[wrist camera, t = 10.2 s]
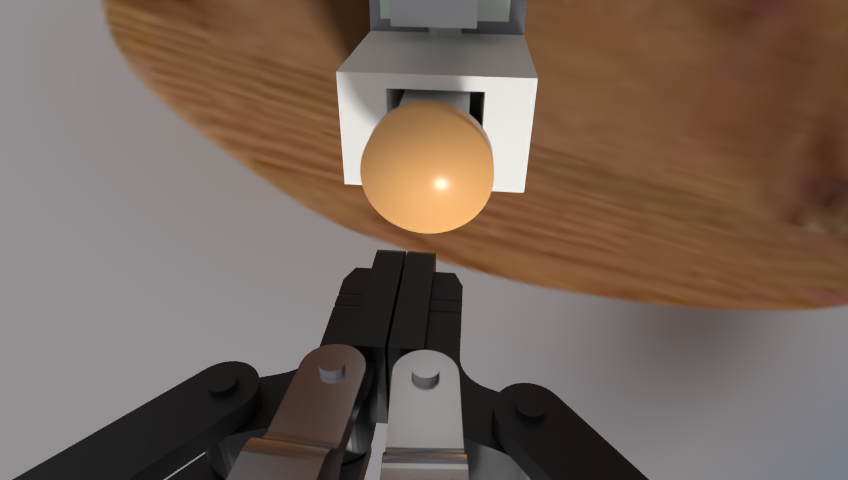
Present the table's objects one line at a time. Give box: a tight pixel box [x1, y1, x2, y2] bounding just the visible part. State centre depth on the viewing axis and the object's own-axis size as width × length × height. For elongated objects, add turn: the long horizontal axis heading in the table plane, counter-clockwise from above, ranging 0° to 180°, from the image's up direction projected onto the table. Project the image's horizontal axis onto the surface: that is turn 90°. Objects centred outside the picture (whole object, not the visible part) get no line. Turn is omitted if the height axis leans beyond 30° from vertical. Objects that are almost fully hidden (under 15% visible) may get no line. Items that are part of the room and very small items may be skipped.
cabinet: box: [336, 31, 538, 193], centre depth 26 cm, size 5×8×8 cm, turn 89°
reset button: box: [360, 89, 494, 233], centre depth 22 cm, size 5×5×7 cm
